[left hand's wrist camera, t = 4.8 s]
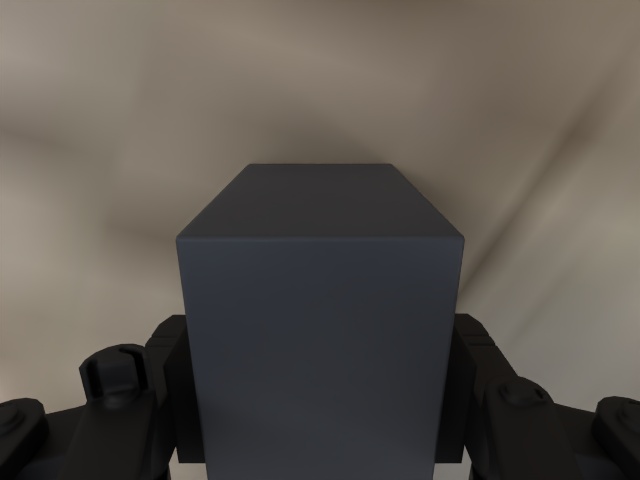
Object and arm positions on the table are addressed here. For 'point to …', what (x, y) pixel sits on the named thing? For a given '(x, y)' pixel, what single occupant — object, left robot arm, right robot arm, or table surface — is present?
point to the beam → (320, 323)
